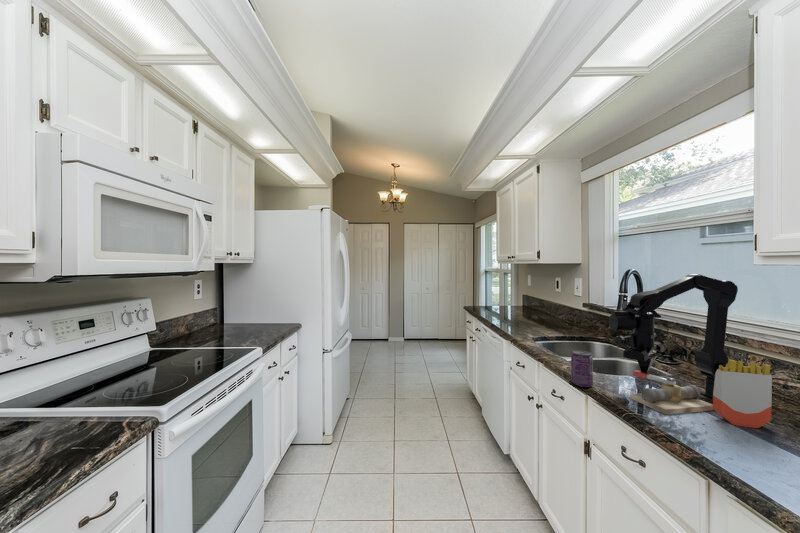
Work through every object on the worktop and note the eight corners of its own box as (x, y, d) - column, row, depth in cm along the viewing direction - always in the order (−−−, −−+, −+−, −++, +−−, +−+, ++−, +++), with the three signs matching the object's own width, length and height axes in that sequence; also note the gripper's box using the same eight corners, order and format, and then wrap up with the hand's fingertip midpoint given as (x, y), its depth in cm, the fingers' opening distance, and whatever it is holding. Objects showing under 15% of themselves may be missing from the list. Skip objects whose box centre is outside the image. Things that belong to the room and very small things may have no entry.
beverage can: (587, 381, 126) (587, 350, 126) (596, 388, 118) (596, 355, 118) (567, 381, 126) (568, 349, 126) (575, 387, 119) (576, 354, 119)
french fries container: (711, 416, 97) (712, 355, 97) (758, 422, 94) (759, 359, 94) (721, 423, 93) (722, 359, 93) (771, 429, 90) (772, 363, 90)
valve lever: (676, 385, 105) (676, 379, 105) (673, 386, 104) (673, 380, 104) (636, 374, 116) (637, 368, 116) (633, 375, 115) (633, 369, 115)
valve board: (674, 394, 113) (675, 377, 113) (714, 410, 102) (714, 390, 102) (630, 398, 110) (630, 380, 110) (666, 414, 98) (666, 394, 98)
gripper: (628, 322, 126) (628, 363, 126) (606, 330, 115) (606, 374, 116) (664, 327, 117) (664, 371, 117) (643, 336, 106) (643, 384, 106)
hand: (644, 374), depth 114 cm, fingers closed
